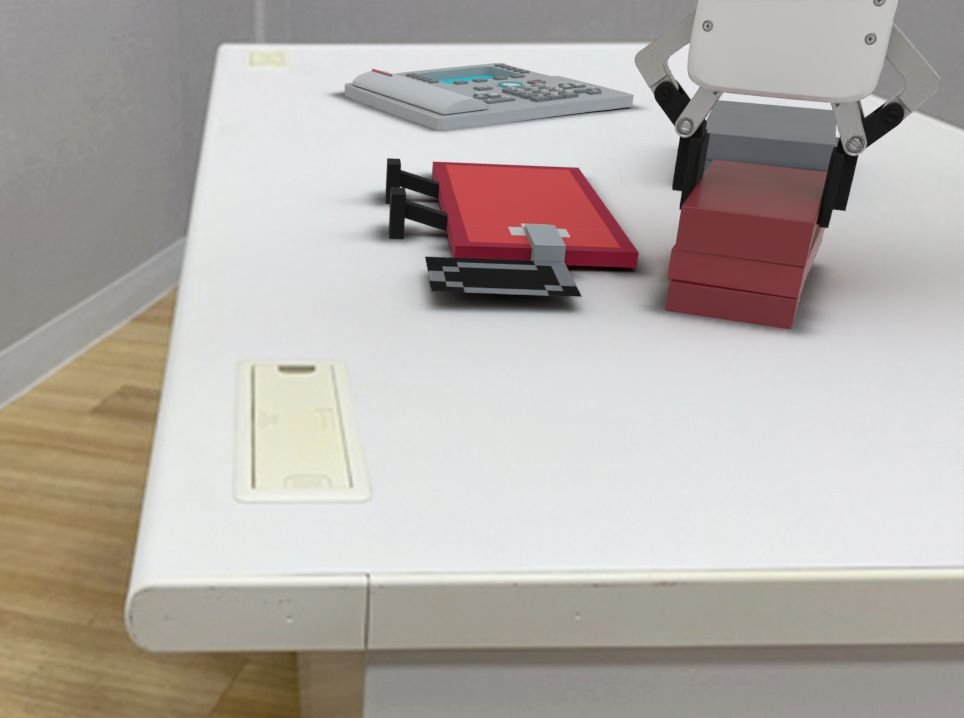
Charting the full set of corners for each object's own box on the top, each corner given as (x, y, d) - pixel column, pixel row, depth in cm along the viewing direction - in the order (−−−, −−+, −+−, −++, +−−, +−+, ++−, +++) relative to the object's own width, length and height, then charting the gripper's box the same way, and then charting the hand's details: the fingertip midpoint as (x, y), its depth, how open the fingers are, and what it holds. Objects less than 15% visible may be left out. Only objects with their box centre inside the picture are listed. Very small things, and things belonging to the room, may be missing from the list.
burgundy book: (805, 267, 65) (815, 222, 63) (674, 249, 67) (681, 205, 65) (821, 212, 74) (830, 172, 73) (706, 198, 76) (713, 159, 75)
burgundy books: (798, 332, 66) (813, 268, 64) (660, 311, 69) (670, 249, 67) (815, 269, 76) (828, 211, 74) (694, 252, 78) (703, 196, 76)
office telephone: (441, 103, 105) (323, 65, 119) (439, 134, 107) (323, 94, 120) (637, 79, 116) (507, 47, 130) (633, 108, 117) (506, 73, 131)
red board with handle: (396, 306, 67) (662, 316, 68) (399, 256, 66) (670, 266, 66) (383, 178, 93) (576, 186, 93) (384, 140, 91) (580, 148, 92)
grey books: (822, 202, 90) (834, 146, 88) (681, 185, 93) (690, 131, 91) (834, 161, 101) (846, 111, 99) (708, 147, 104) (717, 98, 102)
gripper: (1009, -139, 61) (914, 216, 70) (664, -152, 66) (620, 180, 75) (1017, -137, 55) (913, 251, 64) (637, -151, 60) (593, 210, 69)
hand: (755, 210), depth 70 cm, fingers closed on burgundy book, 7 cm apart
